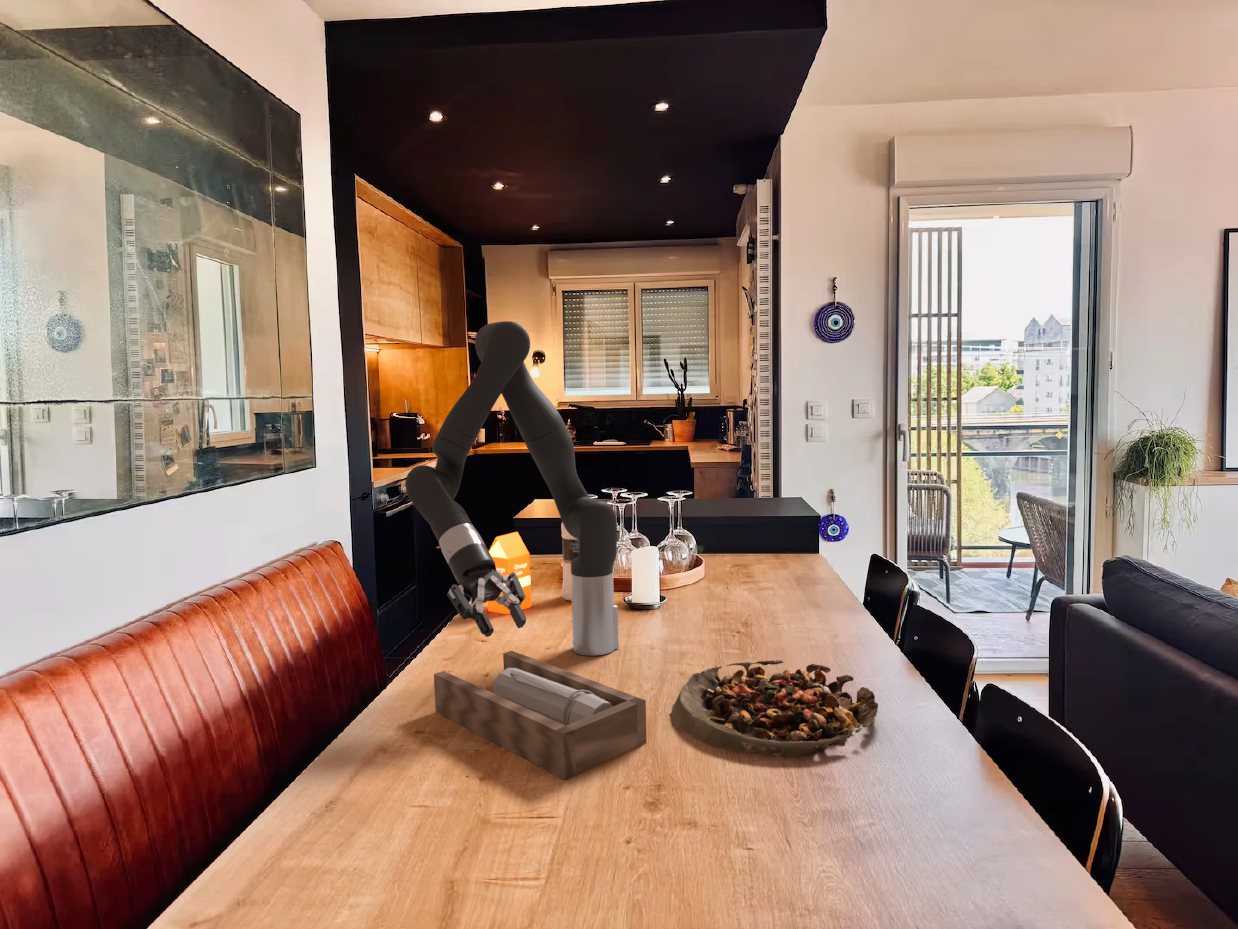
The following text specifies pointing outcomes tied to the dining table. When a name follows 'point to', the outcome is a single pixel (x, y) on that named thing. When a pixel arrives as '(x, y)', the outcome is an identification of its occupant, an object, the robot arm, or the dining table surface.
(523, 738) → the bottle rest
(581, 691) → the water bottle
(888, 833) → the dining table surface
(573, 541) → the vodka
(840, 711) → the food dish
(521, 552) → the orange juice
